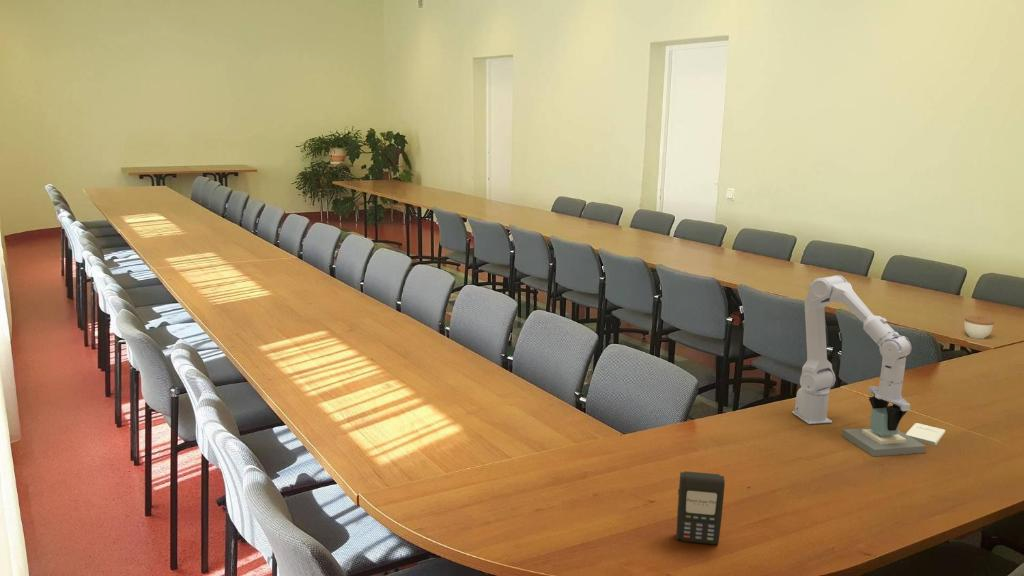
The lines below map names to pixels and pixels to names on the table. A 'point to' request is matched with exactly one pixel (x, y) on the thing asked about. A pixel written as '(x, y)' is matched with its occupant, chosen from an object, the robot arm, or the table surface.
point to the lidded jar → (978, 326)
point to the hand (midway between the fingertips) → (885, 426)
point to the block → (880, 422)
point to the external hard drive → (926, 433)
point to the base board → (883, 442)
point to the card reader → (700, 507)
